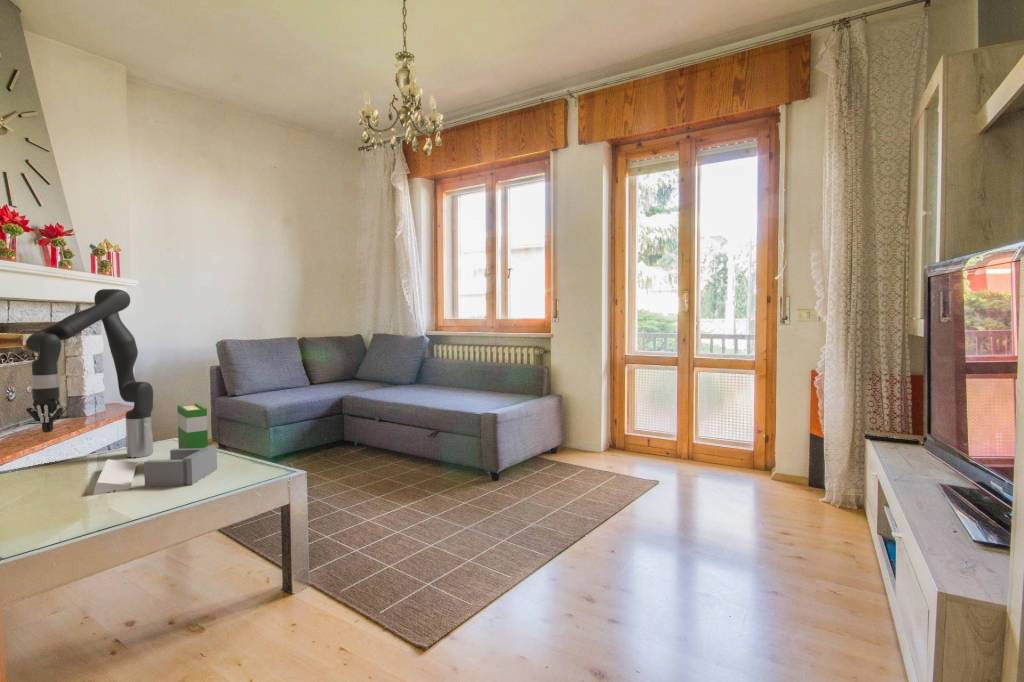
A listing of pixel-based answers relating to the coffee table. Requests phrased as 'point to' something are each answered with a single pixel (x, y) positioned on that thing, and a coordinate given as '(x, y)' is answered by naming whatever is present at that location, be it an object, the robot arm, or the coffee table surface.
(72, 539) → the coffee table surface
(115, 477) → the decorative molding
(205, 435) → the hardback book
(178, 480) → the end cap
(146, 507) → the coffee table surface
